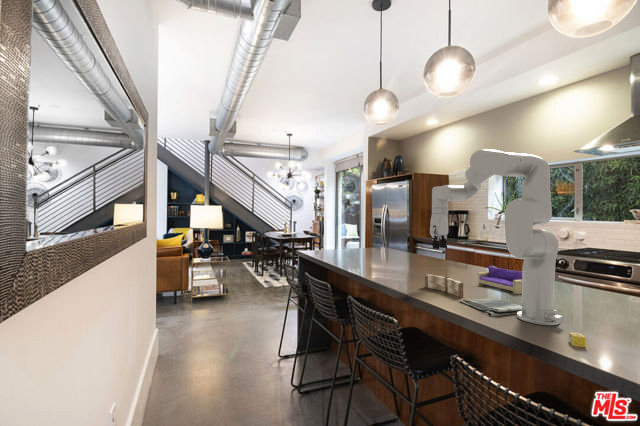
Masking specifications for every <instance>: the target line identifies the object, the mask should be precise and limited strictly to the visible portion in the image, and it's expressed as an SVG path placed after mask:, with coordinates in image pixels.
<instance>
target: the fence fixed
mask: <svg viewBox="0 0 640 426" xmlns="http://www.w3.org/2000/svg"><path fill="white" fill-rule="evenodd" d="M444 277H445V291H444V292H445V293H449V294H452V295H453V296H456V297H458V298H461V299H462V298H464V282H461V281H459V280H456V279H453V278H450V276H444Z"/></svg>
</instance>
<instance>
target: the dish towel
mask: <svg viewBox="0 0 640 426" xmlns="http://www.w3.org/2000/svg"><path fill="white" fill-rule="evenodd" d="M457 303H463V304H464V305H466V306H468V307H471V308H473V309H475V310H479V311H481V312H482V314H484V315H485V314H487V316H490V317H491V318H493V317H500V316H508V315H517V312H519V311H522V305H520V304H516V303H513V302H512V303H511V302H509V301H506V300H502V299H498V298H495V297H486V298H474V299H463V300H458V302H457Z"/></svg>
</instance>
